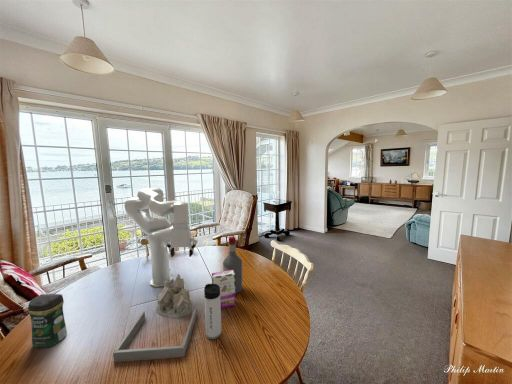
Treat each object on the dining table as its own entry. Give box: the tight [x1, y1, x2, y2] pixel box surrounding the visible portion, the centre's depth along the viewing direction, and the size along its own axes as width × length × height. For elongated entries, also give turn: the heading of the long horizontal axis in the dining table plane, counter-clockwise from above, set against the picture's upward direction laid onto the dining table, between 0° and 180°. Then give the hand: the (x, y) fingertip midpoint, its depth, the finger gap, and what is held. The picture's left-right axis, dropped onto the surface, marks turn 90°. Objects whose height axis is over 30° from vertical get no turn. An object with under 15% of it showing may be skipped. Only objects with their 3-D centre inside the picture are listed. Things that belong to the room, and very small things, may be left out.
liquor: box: [222, 236, 244, 294], centre depth 114 cm, size 9×9×30 cm
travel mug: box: [203, 283, 222, 340], centre depth 83 cm, size 6×7×20 cm
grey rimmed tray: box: [112, 307, 198, 363], centre depth 83 cm, size 22×24×4 cm
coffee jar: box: [27, 293, 68, 348], centre depth 80 cm, size 10×8×19 cm
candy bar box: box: [211, 270, 237, 309], centre depth 101 cm, size 11×5×16 cm, turn 105°
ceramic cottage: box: [155, 273, 193, 319], centre depth 99 cm, size 16×16×15 cm
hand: (181, 255), depth 112 cm, fingers open, 9 cm apart
